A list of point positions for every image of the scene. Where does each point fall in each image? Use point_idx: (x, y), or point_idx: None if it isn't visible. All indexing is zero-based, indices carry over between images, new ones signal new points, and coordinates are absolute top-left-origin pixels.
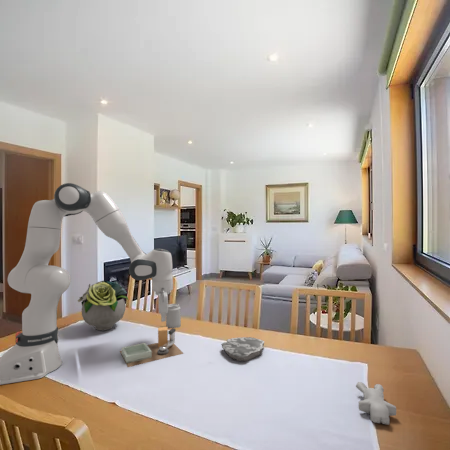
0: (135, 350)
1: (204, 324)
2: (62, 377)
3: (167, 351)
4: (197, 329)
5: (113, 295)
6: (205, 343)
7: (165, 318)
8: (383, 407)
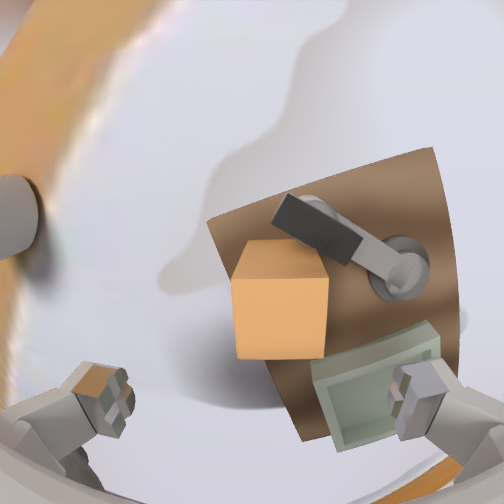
0: (334, 398)
1: (16, 62)
2: (390, 487)
3: (419, 244)
4: (52, 78)
5: None
6: (255, 11)
7: (454, 377)
8: None
